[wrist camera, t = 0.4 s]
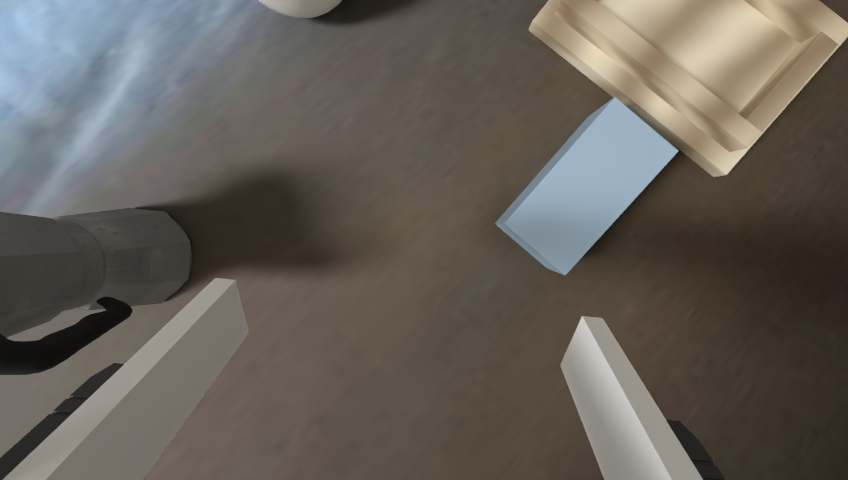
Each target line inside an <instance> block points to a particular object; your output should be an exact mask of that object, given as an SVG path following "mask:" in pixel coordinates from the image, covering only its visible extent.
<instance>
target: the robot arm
mask: <svg viewBox="0 0 848 480" xmlns="http://www.w3.org/2000/svg"><path fill="white" fill-rule="evenodd" d="M248 333H249V331H248V327H247V324H246V320H245V316H244V312H243V308H242V304H241V300H240V296H239V292H238V288H237V284H236V280H230V279H220V278H215V279H214V280H213V281H212V282H211V283H209V284H208V285H207V286H206V287H205V288H204V289H203V290H202V291H201V292H200V293H199V294H198V295H197V296H196V297H195V298H194V299H193V300H192V301H191V302H189V303H188V304H187V305H186V306H185V307H184V308H183V309H182V310H181V311H180V312H179V313H178V314H177V315H176V316H175V317H174V318H173V319H172V320H170V321H169V322H168V323H167V324H166V325H165V326H164V327H163V328H162V329H161V330H160V331H159V332H158V333H157V334H156V335H155V336H154V337H153V338H151V339H150V340H149V341H148V342H147V343H146V344H145V345H144V346H143V347H142V348H141V349H140V350H139V351H138V352H137V353H136V354H135V355H134V356H133V357H131V358H130V359H129V360H128V361H127V362H126V363H125V364H118V363H113V364H112V365H110V366H109V367H107V368H105V369H104V370H102V371H100V372H99V373H97V374H95V375H94V376H92V377H90V378H89V379H88V380H87V381H86V382H85V383H84V384H82V385H81V386H80V387H79V388H78V389H77V390H76V391H75V392H74V393H72V394H71V395H70V398H69V399H66V400H65V401H63V402H62V403H61V404H60V405H59V406H58V407H57V408H56V409H55V410H54V412H53V413H52V414H49V415H48V416H47V417H46V418H44V419H43V420H42V421H41V422H40V423H39V424H38V425H37V426H36V427H34V428H33V429H32V430H31V431H30V432H29V433H28V434H27V435H25V436H24V437H23V438H22V439H21V440H20V441H19V442H18V443H17V444H15V445H14V446H13V447H12V448H11V449H10V450H9V451H8V452H6V453H5V454H4V455H3V456H2V457H1V458H0V480H144V479H145V477H146V476H147V474H148V473H149V472H150V470H151V469H152V467H153V466H154V465H155V463H156V462H157V460H158V459H159V458H160V456H161V455H162V453H163V452H164V451H165V449H166V448H167V446H168V445H169V444H170V442H171V441H172V439H173V438H174V437H175V435H176V434H177V432H178V431H179V430H180V428H181V427H182V426H183V424H184V423H185V421H186V420H187V419H188V417H189V416H190V414H191V413H192V412H193V410H194V409H195V407H196V406H197V405H198V403H199V402H200V400H201V399H202V398H203V396H204V395H205V393H206V392H207V391H208V389H209V388H210V386H211V385H212V384H213V382H214V381H215V379H216V378H217V377H218V375H219V374H220V372H221V371H222V370H223V368H224V367H225V366H226V364H227V363H228V361H229V360H230V359H231V357H232V356H233V354H234V353H235V352H236V350H237V349H238V347H239V346H240V345H241V343H242V342H243V340H244V339H245V338H246V336H247V335H248ZM560 366H561V369H562V371H563V374H564V376H565V379H566V382H567V384H568V387H569V389H570V392H571V395H572V397H573V400H574V402H575V405H576V407H577V410H578V413H579V415H580V418H581V420H582V423H583V426H584V428H585V431H586V433H587V436H588V439H589V441H590V444H591V446H592V449H593V451H594V454H595V457H596V459H597V462H598V464H599V467H600V470H601V472H602V475H603V477H604V480H725V478H724V477H723V475H722V474H721V472H720V471H719V469H718V468H717V466H714V464H713V460H712V459H711V457H710V456H709V454H708V453H707V451H706V450H705V449H704V447H703V446H702V444H701V443H700V441H699V440H698V439H697V438H696V437H695V436H694V435H693V434H692V433H691V432H690V431H689V430H688V429H687V428H686V427H685V426H684V425H683V424H682V423H681V422H680V421H672V420H666V419H665V418H664V416H663V415H662V413H661V411H660V410H659V408H658V407H657V405H656V403H655V402H654V400H653V399H652V397H651V395H650V394H649V392H648V390H647V389H646V387H645V386H644V384H643V382H642V381H641V379H640V378H639V376H638V374H637V373H636V371H635V370H634V368H633V366H632V365H631V363H630V362H629V360H628V358H627V357H626V355H625V354H624V352H623V350H622V349H621V347H620V346H619V344H618V342H617V341H616V339H615V338H614V336H613V334H612V333H611V331H610V329H609V328H608V326H607V325H606V323H605V321H604V320H603V318H596V317H586V316H582V318H581V320H580V322H579V324H578V327H577V329H576V331H575V333H574V336H573V338H572V340H571V342H570V344H569V347H568V349H567V351H566V353H565V356H564V358H563V360H562V362H561V365H560Z"/></svg>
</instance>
